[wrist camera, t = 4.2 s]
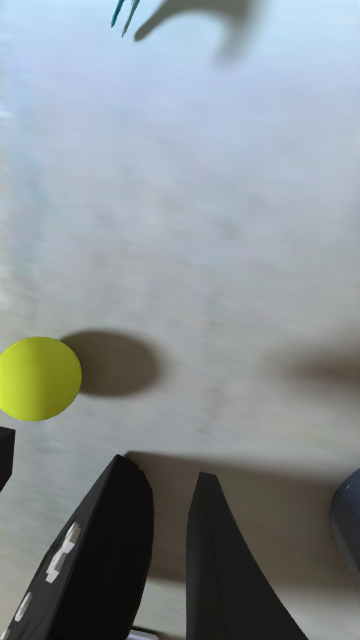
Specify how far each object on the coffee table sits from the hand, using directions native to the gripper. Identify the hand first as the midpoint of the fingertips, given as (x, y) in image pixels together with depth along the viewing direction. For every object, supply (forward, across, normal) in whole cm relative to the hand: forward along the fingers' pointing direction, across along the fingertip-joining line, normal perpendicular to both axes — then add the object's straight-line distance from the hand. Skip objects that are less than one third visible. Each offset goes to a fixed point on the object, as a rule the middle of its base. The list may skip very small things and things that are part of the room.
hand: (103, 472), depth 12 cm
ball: (+7, +6, +1) cm, 9 cm away
